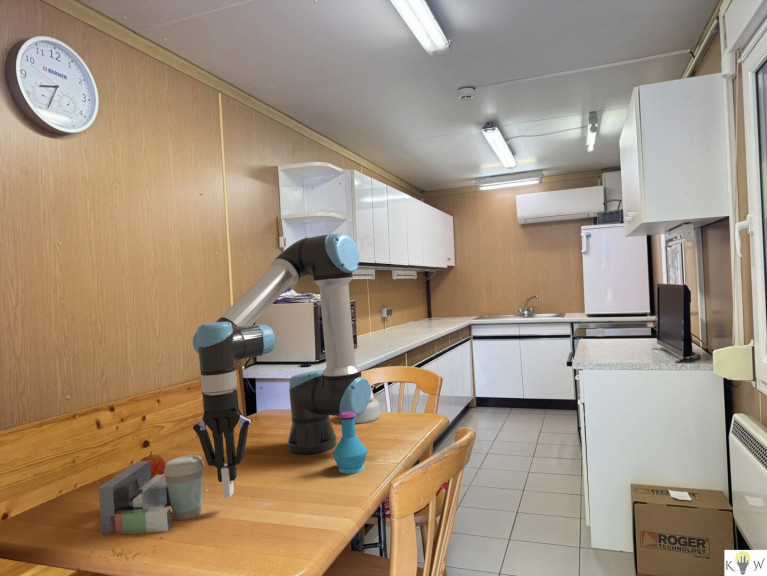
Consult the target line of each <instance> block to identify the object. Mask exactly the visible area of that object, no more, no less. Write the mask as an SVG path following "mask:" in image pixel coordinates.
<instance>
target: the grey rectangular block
mask: <svg viewBox="0 0 767 576" xmlns="http://www.w3.org/2000/svg"><path fill="white" fill-rule="evenodd" d="M166 485H167V481H166V476H165V475H164V474H163V475H156V476H155V477H153V478H152V479H151V480H150V481H148V482H147V483H146V484H145V485H143V486H142V487H141V488H139V489H138V490H137V491H135V492H134V493H133V494H131V495H130V496H129V497H128V498H127V501H130V510H138V509H154V508H165V507H166V505H168V504H167V495H166ZM132 500H133V501H132Z"/></svg>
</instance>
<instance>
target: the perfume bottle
mask: <svg viewBox="0 0 767 576" xmlns="http://www.w3.org/2000/svg"><path fill="white" fill-rule="evenodd" d="M354 416H356V414H355V413H354V412H350V411H349V412H343V413H341V414H340V415H339V416H338V417H339V419H340V421H341V436H342V437H341V438H340V439H339V442H338V443H337V444H336V447H335V448H334V450H333V452H332V456H333V459H334V461H335V463H336V466H337V467H338V472H339V473H342V474H355V473H359V472H362V471H363V470H364V464H365V463H366V458H367V454H368V448H367V447H366V446H365V445H364V443H363V442H361V441H360V439H359V437H358V436H356V435H357V434H356V424H355V420H354V419H355V417H354ZM340 417H341V418H340Z"/></svg>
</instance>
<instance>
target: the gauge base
mask: <svg viewBox="0 0 767 576" xmlns="http://www.w3.org/2000/svg"><path fill="white" fill-rule="evenodd" d="M150 480H151V468H150V461H140V460H138V461H136V462H134V463H133V464H132V465H130V466H128V467H127V468H125V470H122V471H121V472H120V473H118V474H117V475H116V476H113V477H112V478H110V480H108V481H107V482H105V483H104V484H102V485H101V486H99V487H98V496H99V497H98V499H99V513H100V527H101V529H100V530H101V536H113V535H114V536H115V535H130V534H131V535H133V534H145V533H148V534H149V533H165V532H169V531H170V529H172V528H173V527H172V525H173V524H172V515H171V514H172V513H171V512H172V509H171V507H163V508H154V509H138V510H130V501H127V498H128V497H129V496H130V495H131V494H133V493H134V492H135V491H137V490H138V489H139V488H141V487H142V486H143V485H145V484H146V483H147V482H148V481H150ZM166 495H167V504H166V505H171V502H170V496H169V491H168V486H167V484H166ZM132 501H133V500H132Z"/></svg>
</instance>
